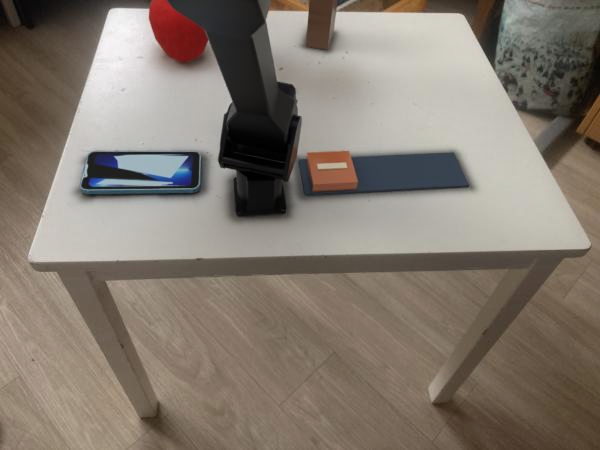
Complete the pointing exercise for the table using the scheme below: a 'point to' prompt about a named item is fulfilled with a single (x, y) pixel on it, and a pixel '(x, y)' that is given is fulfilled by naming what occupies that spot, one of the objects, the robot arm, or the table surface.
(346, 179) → the letter tile
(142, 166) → the smartphone
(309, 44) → the brown tall rectangular block
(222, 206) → the table surface
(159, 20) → the apple
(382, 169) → the word mat
